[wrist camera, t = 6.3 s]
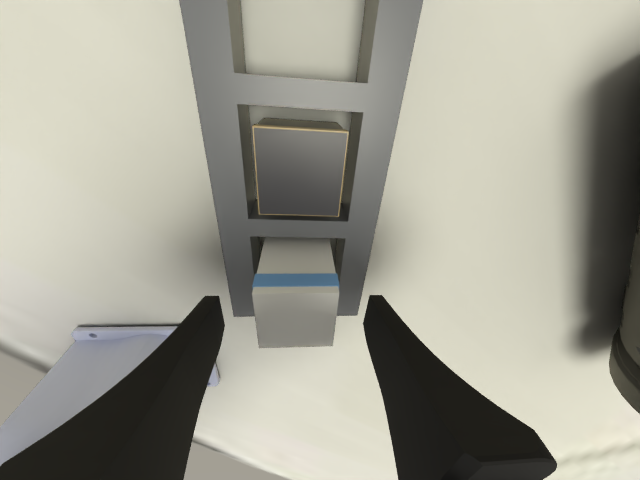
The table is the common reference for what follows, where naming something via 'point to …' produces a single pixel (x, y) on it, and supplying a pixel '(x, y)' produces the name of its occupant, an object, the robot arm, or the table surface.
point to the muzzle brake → (629, 335)
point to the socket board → (298, 143)
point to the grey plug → (295, 293)
